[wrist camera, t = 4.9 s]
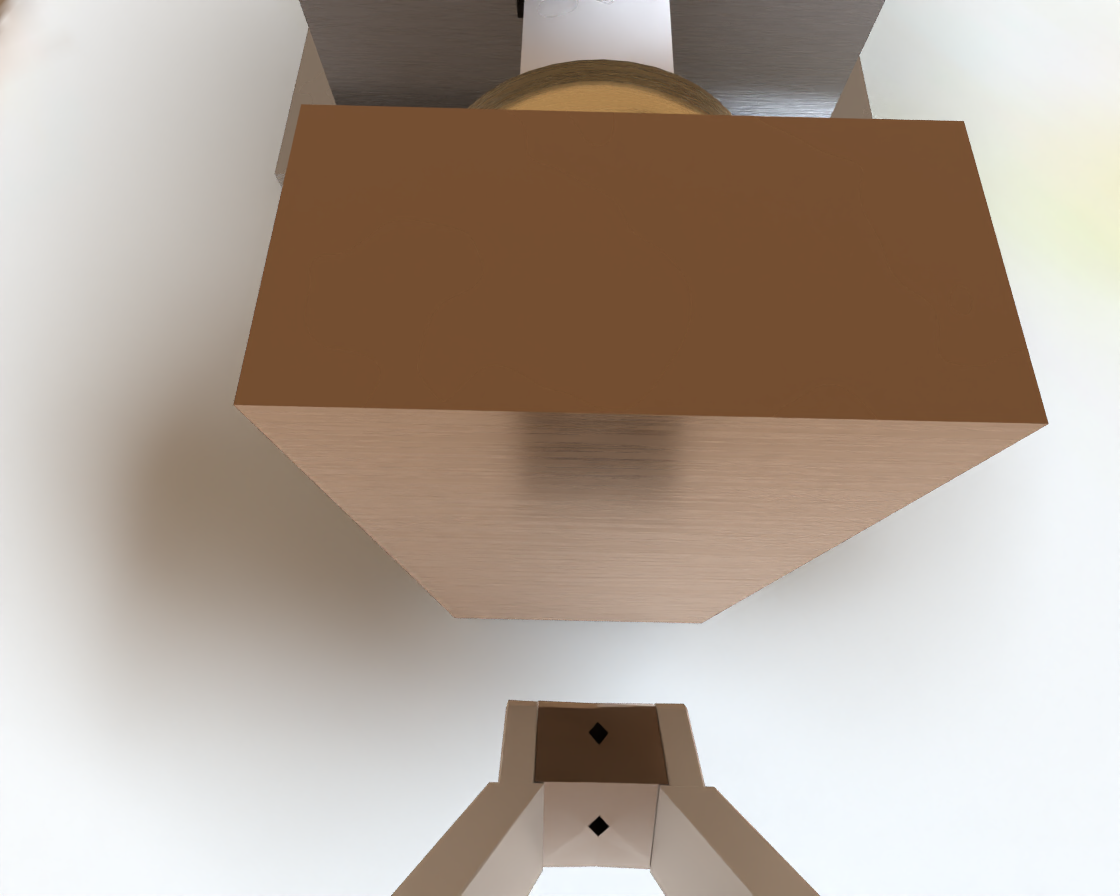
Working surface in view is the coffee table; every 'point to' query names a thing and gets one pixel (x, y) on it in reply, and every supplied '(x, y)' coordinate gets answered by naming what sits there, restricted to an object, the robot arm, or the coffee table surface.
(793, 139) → the shaft
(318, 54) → the bearing block
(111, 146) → the coffee table surface
